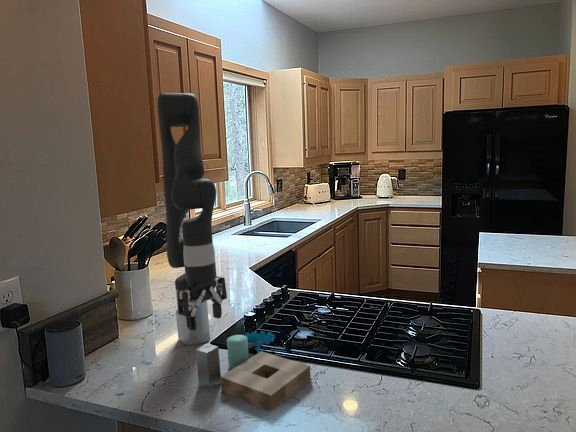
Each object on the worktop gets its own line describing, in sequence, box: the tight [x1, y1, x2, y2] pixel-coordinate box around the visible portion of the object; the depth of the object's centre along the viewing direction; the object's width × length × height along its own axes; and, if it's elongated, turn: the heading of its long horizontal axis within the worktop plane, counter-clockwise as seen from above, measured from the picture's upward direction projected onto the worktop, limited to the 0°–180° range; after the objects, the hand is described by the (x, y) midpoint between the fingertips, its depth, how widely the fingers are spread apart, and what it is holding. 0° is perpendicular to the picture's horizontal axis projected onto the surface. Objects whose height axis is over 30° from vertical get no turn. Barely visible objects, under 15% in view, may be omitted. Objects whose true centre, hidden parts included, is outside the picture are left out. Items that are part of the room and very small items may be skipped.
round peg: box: [226, 334, 250, 371], centre depth 128 cm, size 6×6×8 cm
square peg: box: [195, 343, 222, 391], centre depth 119 cm, size 4×4×10 cm
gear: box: [244, 330, 276, 354], centre depth 136 cm, size 11×6×10 cm
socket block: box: [220, 350, 311, 412], centre depth 117 cm, size 16×16×4 cm
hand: (205, 323), depth 117 cm, fingers open, 8 cm apart
